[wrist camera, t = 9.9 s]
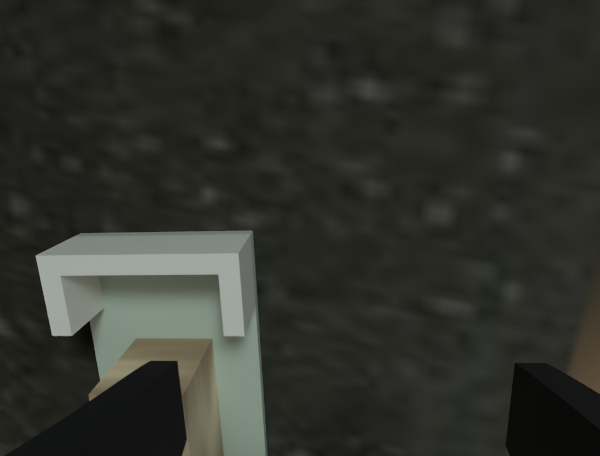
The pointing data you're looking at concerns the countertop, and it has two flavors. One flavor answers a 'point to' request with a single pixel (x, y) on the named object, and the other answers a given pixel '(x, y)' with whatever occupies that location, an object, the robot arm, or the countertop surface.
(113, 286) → the endcap rail
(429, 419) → the countertop surface
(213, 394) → the tan rectangular block
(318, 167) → the countertop surface
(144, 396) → the robot arm
